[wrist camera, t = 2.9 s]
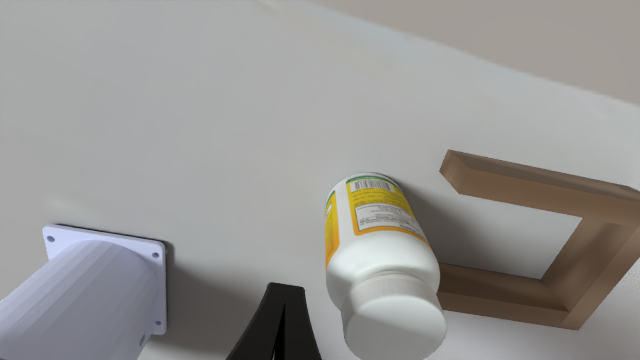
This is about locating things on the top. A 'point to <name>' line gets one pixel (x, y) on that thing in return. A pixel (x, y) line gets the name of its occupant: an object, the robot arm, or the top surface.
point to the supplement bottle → (381, 271)
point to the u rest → (573, 260)
